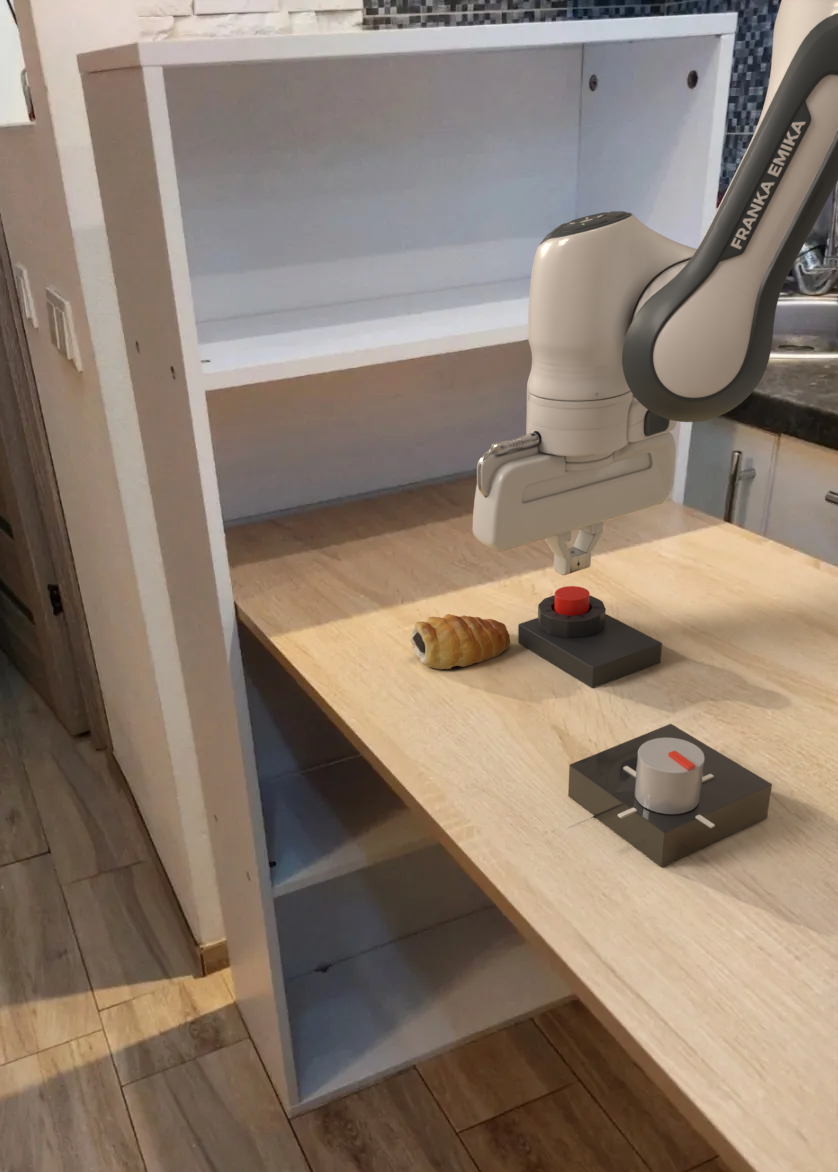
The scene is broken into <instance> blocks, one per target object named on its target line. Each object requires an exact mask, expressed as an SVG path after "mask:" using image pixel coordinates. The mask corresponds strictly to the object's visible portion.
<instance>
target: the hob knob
mask: <svg viewBox="0 0 838 1172" xmlns="http://www.w3.org/2000/svg"><path fill="white" fill-rule="evenodd" d="M704 760H705V757H704V754H703V752H702V750H701V749H700V748H699V747H697V746H696V745H694V744H692V743H690V742H688V741H685V740H682V739H677V738H657V739H652V740H649V741H647V742H645V743H644V744H642V745H641V746H640V748H639V750H638V756H637V768H636V781H635V797H636V799H637V801H638V802H639V803H640V804H641V805H642V806H644V807H645V808H647V809H649V810H651V811H654V812H657V813H662V814H682V813H686V812H689V811H691V810H693V809H694V808H695V807H696V806H697V805H698V803H699V801H700V794H701V785H702V777H703V769H704Z"/></svg>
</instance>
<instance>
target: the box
mask: <svg viewBox="0 0 838 1172" xmlns="http://www.w3.org/2000/svg"><path fill="white" fill-rule="evenodd" d="M554 604H555V594H554V595H551V596H548V597H545V598H543V599H542V600H541V602H540V603H538V605H537V617H536V618H533V619H530V620H526V621H524V622H521V623H519V624H518V625H517V626H518V627H517V633H518V634H517V643H518V645H520V646H522V647H524V648H525V649H527V650H529V651H530V652H531V653H533V654H534V655H536V656H538V657H540V658H542V659H543V660H545V661H546V662H548V663H550V664H551V665H553V666H555V667H556V668H558V669H560V670H561V671H563V672H564V673H566V674H568V675H569V676H571V677H573V678H574V679H576V680H578V681H579V682H580V683H582V684H584V685H586V686H587V687H589V688H591V689H595V688H598V687H601V686H603V685H606V684H609V683H611V682H613V681H616V680H619V679H622V678H624V677H627V676H630V675H632V674H636V673H638V672H640V671H644V670H645V669H649V668H651V667H654V666H656V665H659V664H661V660H662V650H663V649H662V648H663V642H661V641H659V640H657V639H656V638H653V637H652V636H650V635H648V634H646V633H644V632H642V631H640V630H638V629H636V628H634V627H632V626H630V625H628V624H626V623H625V622H622V621H620V620H619V619H617V618H614V617H612V616H611V615H609V614H607V613H606V610H607V609H606V607H605V603H604V602H603V601H602V599H601V600H600V599H599V598H597V597H595V596H593V595H589V611H588V613H585V614H582V615H574V616H569V615H563V614H558V613H556V612H555V610H554Z"/></svg>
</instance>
